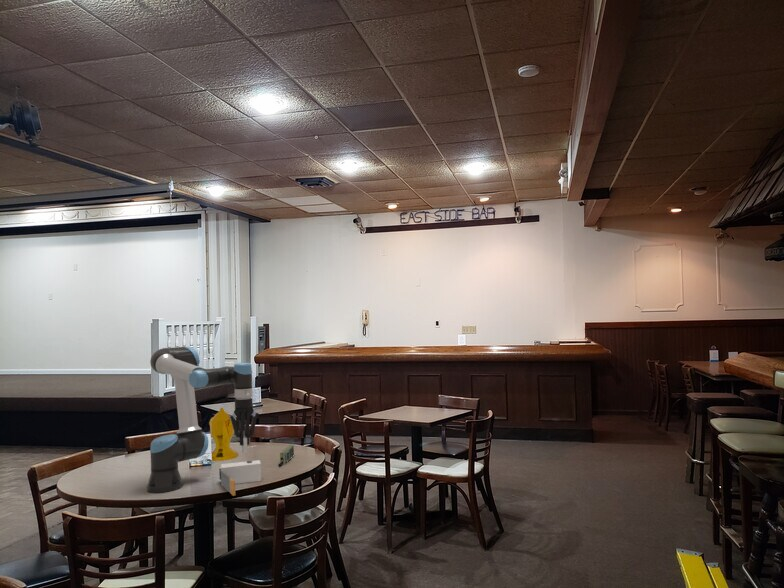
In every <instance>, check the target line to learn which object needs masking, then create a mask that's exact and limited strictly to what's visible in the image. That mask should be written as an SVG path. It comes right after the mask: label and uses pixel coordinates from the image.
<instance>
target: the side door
mask: <svg viewBox="0 0 784 588" xmlns="http://www.w3.org/2000/svg"><path fill="white" fill-rule="evenodd" d="M220 484H221V486H223V487H224V488H225V489H226V490H227V491H228V492H229V494H231V496H233V497H234V496H236V484H235V481H234V480H233V479H232V478H231V477H230V476H228V475H227V474H226V473H225V472H224V471H223V470H222V471H221V480H220Z"/></svg>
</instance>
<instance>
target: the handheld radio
mask: <svg viewBox="0 0 784 588" xmlns="http://www.w3.org/2000/svg"><path fill="white" fill-rule="evenodd" d="M293 455H294V456H295V448H294V444H289V445H288V446H287V447H285V448H284V449H282V450H281V451H280V452H279V460H280V461H279V463H278V464H277V466H278V467H281V466H282V465H286V464H287V463H288V462H289V461H290V460H292V458H291V457H292V456H293ZM287 461H288V462H287ZM286 462H287V463H286ZM285 463H286V464H285Z"/></svg>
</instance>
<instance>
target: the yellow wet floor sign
mask: <svg viewBox="0 0 784 588" xmlns="http://www.w3.org/2000/svg"><path fill="white" fill-rule="evenodd" d="M229 416H230V414H229V413H228V412H226V411H225V408H223V407H220V408H219V411H218V412H216V414H215V415H214V416H213V417H211V418H210V420H209V422H208V425H209V428H210V429H209V431H210V432H209V434H210V436H211V438H212V440H213V441H214V443H215V446H214V447H215V448H214V450H213V451H211V453H212V460H213V462H220V461H221V462H224V460H225V461H231V460H233V459H238V457H239V452H238V451H236V450H235V449H233V448H232V447H231V440H232V438H233V436H234V435H235V433H234V429H233V425H232V422H231V420H230V418H229ZM230 459H231V460H230ZM212 460H211V461H212Z"/></svg>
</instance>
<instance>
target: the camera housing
mask: <svg viewBox="0 0 784 588" xmlns="http://www.w3.org/2000/svg"><path fill="white" fill-rule="evenodd" d="M218 470H219V472H218V473H219V474H218V475H219V480H220V481H221V471H222V470H223V471H224V472H225V473H226V474H227V475H228V476H230V477H231V478H232V479H233V480H234V481H235V485H237V484H246V483H255V482H261V481H262V463H261V460H260V459H258V460H246V461H238V462H230V463H228V462H227V463H221V464H220V468H219V469H218Z"/></svg>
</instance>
